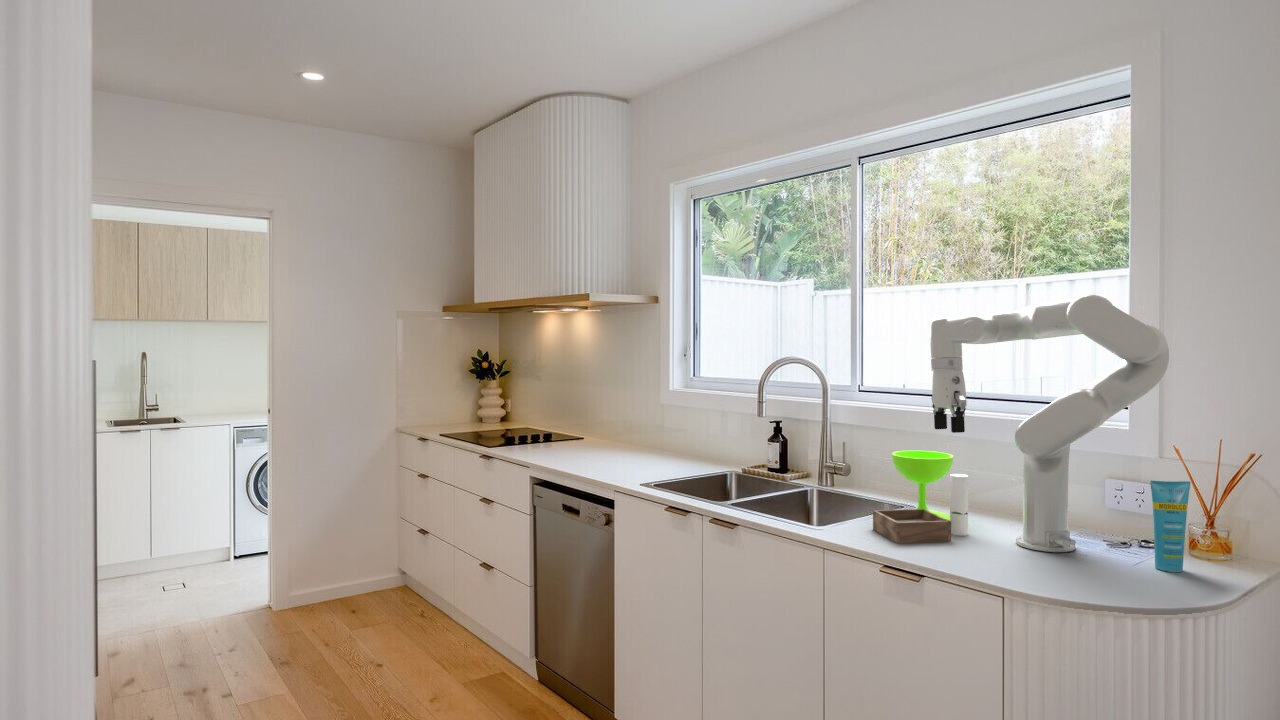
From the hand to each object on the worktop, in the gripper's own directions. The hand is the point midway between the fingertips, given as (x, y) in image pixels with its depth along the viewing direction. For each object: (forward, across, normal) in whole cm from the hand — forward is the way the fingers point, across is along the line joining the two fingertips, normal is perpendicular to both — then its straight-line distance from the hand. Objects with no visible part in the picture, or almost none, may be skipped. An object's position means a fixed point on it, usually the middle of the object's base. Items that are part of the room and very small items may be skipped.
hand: (949, 430), depth 193 cm
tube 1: (+27, -1, -1) cm, 27 cm away
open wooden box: (+26, -2, +12) cm, 29 cm away
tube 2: (+28, -34, -31) cm, 54 cm away
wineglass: (+26, +15, +2) cm, 30 cm away
